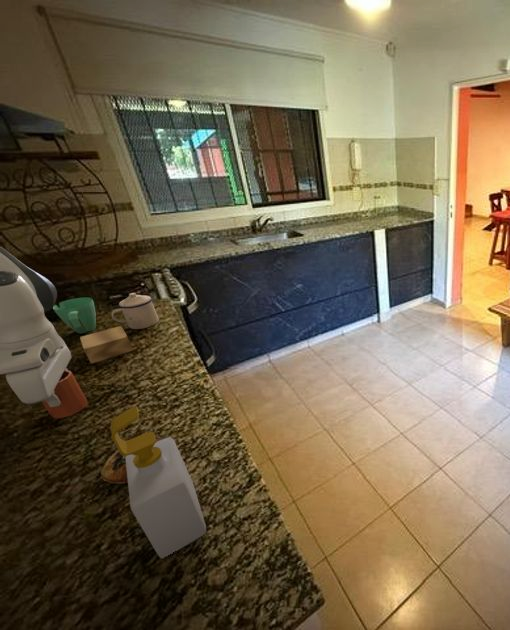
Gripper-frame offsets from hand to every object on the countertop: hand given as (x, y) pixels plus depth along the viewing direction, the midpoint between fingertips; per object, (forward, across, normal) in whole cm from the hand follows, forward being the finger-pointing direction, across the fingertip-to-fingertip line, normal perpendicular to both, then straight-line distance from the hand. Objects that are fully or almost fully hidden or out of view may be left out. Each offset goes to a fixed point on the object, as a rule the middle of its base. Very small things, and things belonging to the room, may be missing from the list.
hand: (61, 394), depth 81 cm
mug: (+4, -47, -5) cm, 48 cm away
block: (+4, -28, +4) cm, 29 cm away
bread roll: (+5, +28, +16) cm, 32 cm away
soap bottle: (+5, +46, +23) cm, 52 cm away
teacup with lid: (+4, -44, +10) cm, 45 cm away
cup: (+4, 0, 0) cm, 4 cm away
